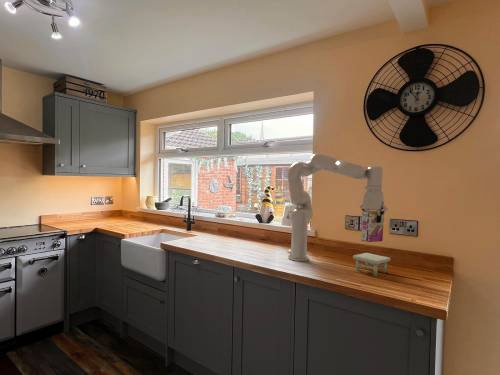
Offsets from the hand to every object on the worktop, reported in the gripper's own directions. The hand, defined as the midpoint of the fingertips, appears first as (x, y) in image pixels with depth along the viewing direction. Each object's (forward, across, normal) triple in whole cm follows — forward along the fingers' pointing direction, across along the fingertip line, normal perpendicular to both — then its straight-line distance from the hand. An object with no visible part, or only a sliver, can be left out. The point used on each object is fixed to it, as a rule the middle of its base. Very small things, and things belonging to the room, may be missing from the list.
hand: (372, 221), depth 162 cm
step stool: (+27, 0, 0) cm, 27 cm away
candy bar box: (+11, 0, 0) cm, 11 cm away
